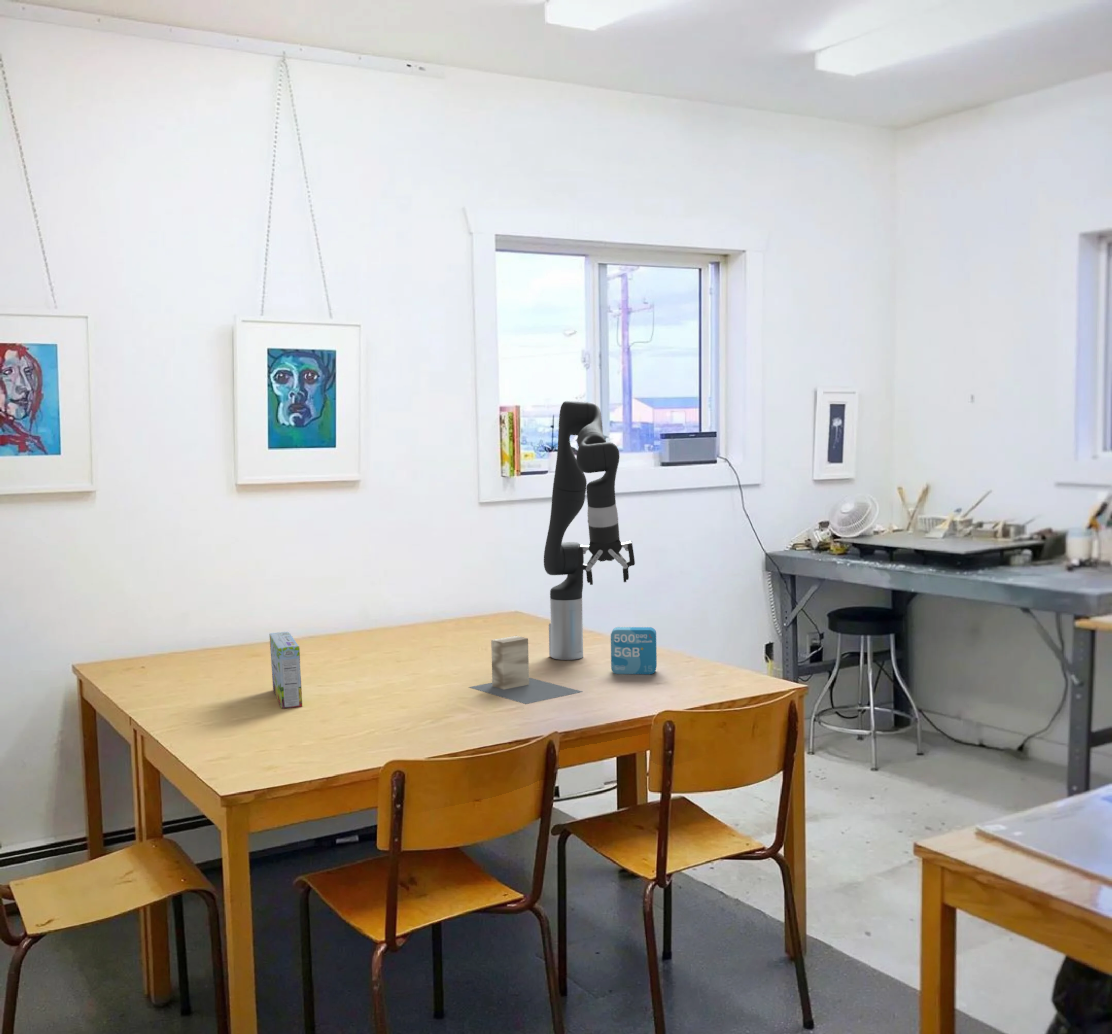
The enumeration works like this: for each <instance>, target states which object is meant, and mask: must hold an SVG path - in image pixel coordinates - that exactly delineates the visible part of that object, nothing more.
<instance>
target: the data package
mask: <svg viewBox="0 0 1112 1034" xmlns="http://www.w3.org/2000/svg"><path fill="white" fill-rule="evenodd" d="M657 656H658V655H657V631H656V629H655V628H653V627H651V626H650V627H648V626H647V627H646V626H642V627H641V626H632V627H631V626H622V627H621V626H617V627H614V628H613V629H612V631H611V633H610V667H611V668H610V669H611V671H612V672H613V674H615V675H653V674H654V673H655V672H656V670H657V664H658V663H657Z"/></svg>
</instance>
